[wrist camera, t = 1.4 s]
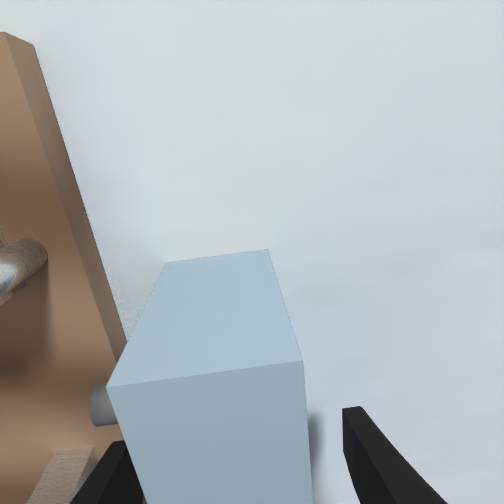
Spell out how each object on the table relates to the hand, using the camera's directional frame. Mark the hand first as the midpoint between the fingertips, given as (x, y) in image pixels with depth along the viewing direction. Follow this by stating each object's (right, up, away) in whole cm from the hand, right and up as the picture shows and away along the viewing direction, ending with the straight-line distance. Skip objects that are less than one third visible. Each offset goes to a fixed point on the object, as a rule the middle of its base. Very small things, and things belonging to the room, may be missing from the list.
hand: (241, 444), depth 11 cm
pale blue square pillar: (0, +1, +3) cm, 3 cm away
